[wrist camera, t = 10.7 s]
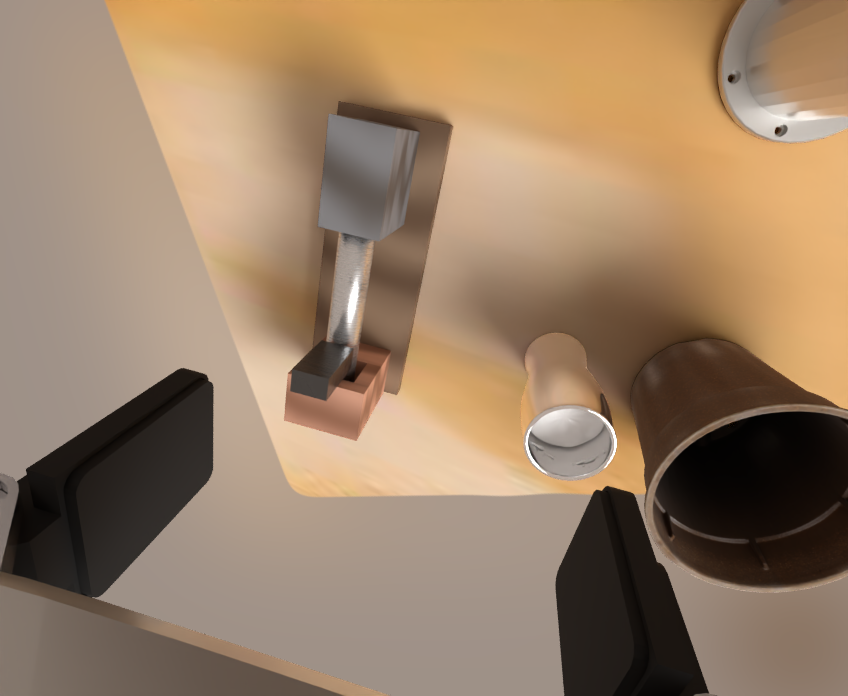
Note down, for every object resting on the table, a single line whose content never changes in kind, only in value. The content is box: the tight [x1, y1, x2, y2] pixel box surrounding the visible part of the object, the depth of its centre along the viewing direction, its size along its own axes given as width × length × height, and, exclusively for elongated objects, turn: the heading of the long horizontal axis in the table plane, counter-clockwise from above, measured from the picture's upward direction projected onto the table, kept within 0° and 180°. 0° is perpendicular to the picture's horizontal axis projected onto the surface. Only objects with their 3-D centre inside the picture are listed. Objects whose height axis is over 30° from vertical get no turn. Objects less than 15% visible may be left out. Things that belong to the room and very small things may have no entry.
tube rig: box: [284, 101, 453, 441], centre depth 42 cm, size 27×10×11 cm, turn 169°
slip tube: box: [290, 232, 375, 401], centre depth 38 cm, size 19×3×9 cm, turn 169°
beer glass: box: [520, 333, 617, 481], centre depth 41 cm, size 7×7×15 cm
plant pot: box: [631, 338, 848, 592], centre depth 39 cm, size 16×16×16 cm
